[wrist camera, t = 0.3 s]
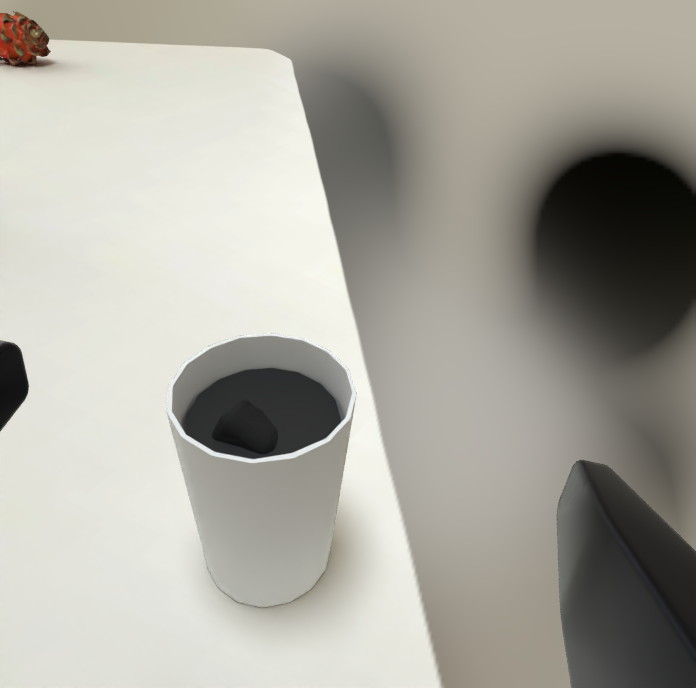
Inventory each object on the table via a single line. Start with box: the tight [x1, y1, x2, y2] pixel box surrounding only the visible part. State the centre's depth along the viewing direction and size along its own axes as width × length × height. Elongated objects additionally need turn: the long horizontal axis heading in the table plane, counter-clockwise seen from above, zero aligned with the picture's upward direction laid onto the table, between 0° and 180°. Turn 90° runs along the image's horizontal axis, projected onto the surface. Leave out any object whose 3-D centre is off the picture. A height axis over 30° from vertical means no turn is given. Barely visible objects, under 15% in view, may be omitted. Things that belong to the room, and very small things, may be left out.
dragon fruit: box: [0, 11, 51, 65], centre depth 94 cm, size 8×8×12 cm
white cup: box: [167, 333, 357, 608], centre depth 22 cm, size 7×7×10 cm
